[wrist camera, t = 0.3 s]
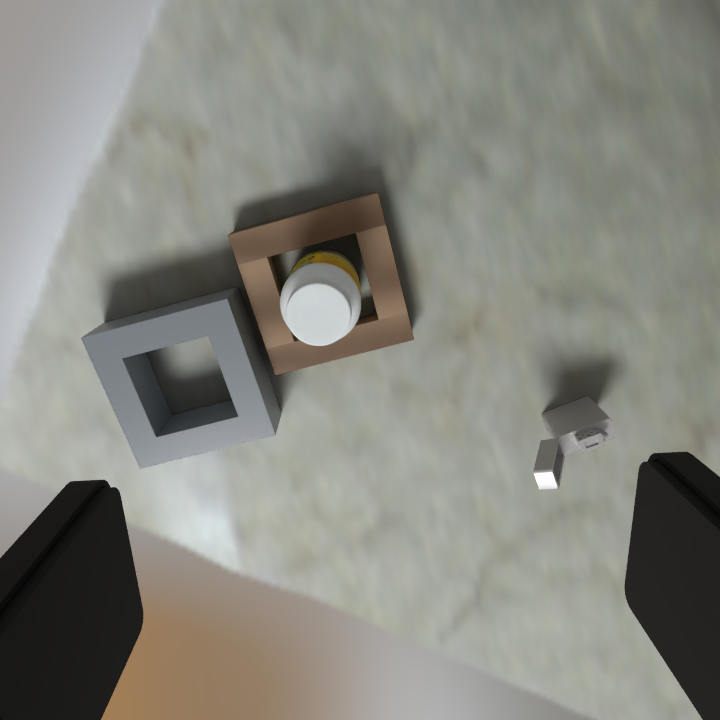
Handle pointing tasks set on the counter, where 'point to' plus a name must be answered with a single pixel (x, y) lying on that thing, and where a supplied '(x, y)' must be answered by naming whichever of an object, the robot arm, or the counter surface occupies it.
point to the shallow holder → (310, 229)
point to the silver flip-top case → (570, 437)
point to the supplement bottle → (321, 298)
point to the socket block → (145, 398)
